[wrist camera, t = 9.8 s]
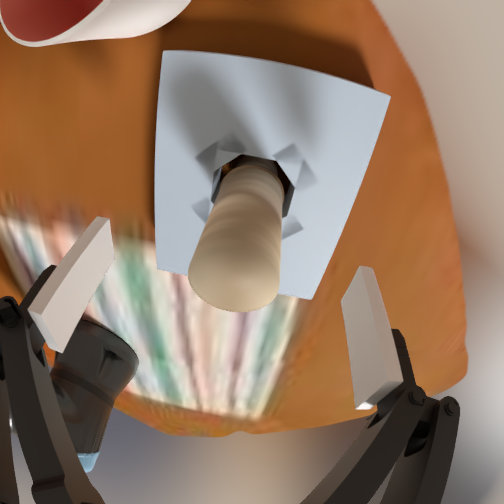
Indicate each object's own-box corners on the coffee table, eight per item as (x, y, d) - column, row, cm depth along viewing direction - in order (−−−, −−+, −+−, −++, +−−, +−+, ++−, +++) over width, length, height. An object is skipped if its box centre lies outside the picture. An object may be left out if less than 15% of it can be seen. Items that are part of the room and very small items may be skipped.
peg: (225, 192, 24) (185, 303, 15) (232, 142, 21) (187, 233, 12) (277, 203, 24) (270, 320, 15) (289, 154, 21) (293, 254, 12)
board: (168, 245, 28) (157, 269, 25) (181, 49, 17) (163, 50, 14) (309, 273, 29) (311, 299, 26) (374, 88, 17) (390, 96, 14)
